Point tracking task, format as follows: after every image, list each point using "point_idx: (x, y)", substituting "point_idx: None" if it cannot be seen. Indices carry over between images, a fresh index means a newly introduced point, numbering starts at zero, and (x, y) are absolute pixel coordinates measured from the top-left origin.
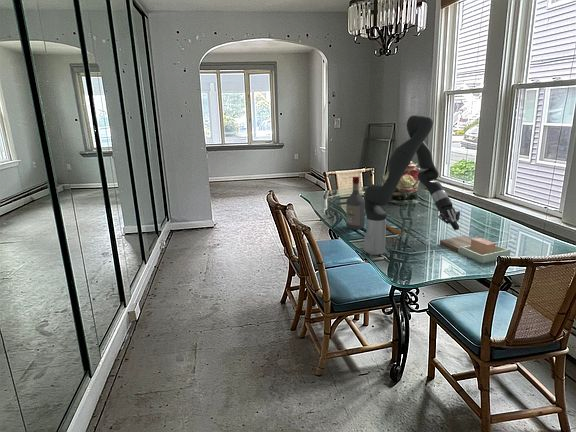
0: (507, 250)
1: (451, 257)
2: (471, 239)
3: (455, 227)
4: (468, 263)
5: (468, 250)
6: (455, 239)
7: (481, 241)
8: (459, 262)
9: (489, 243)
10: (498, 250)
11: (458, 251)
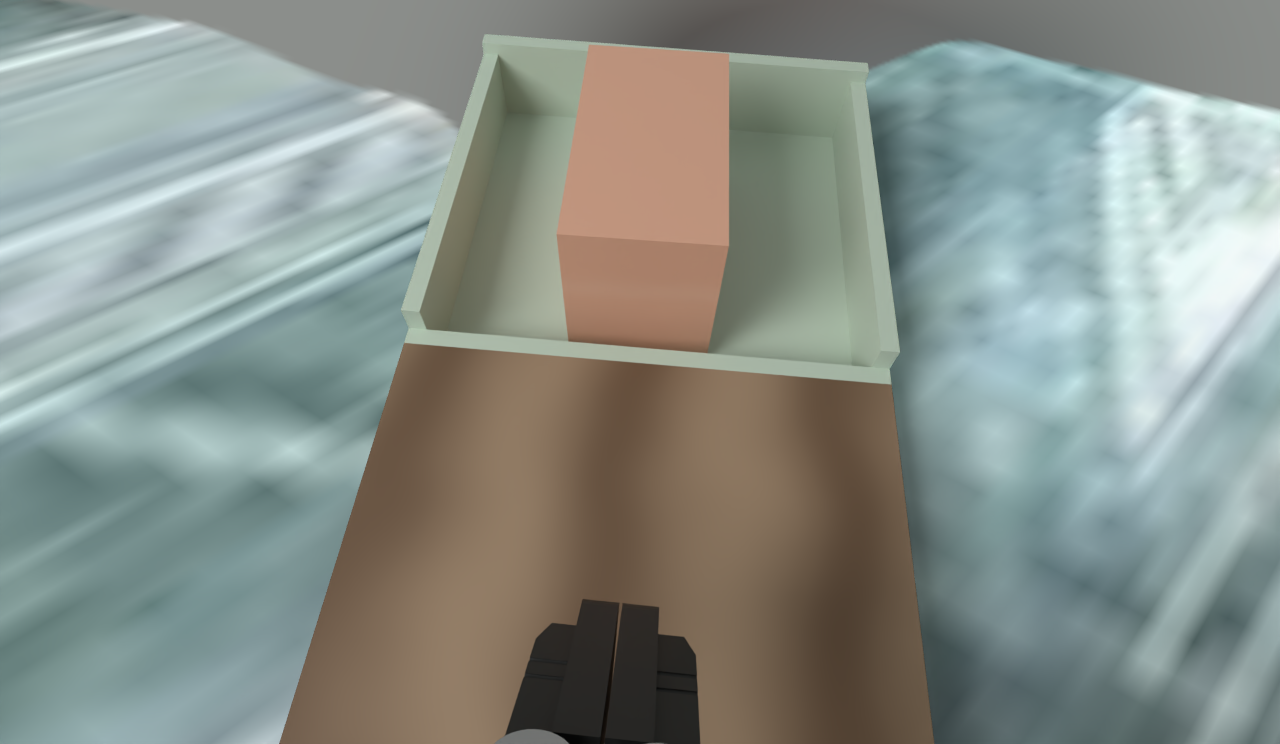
0: (529, 40)
1: (1038, 362)
2: (726, 250)
3: (673, 645)
4: (961, 196)
5: (881, 226)
6: None
7: (688, 135)
8: (1034, 245)
9: (663, 65)
10: (480, 171)
11: None
